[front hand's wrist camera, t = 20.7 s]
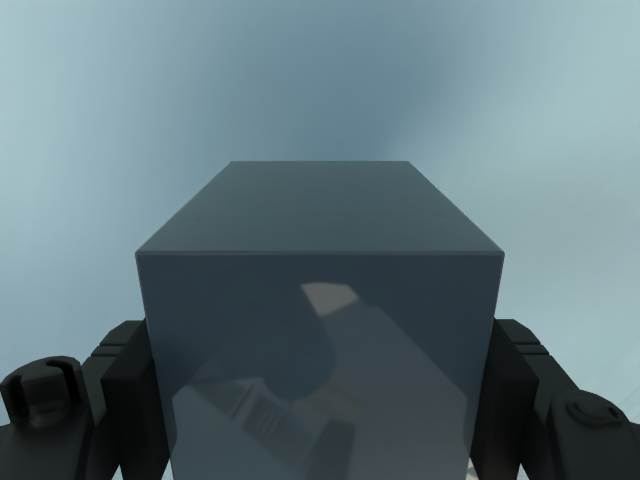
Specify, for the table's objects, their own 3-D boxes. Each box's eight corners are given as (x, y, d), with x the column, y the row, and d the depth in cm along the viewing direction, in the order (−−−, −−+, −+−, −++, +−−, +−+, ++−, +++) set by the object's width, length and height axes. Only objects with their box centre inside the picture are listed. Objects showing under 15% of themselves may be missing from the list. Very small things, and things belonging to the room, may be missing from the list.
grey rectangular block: (396, 324, 19) (459, 525, 10) (243, 324, 19) (180, 524, 10) (409, 160, 16) (507, 252, 8) (230, 160, 16) (132, 251, 8)
